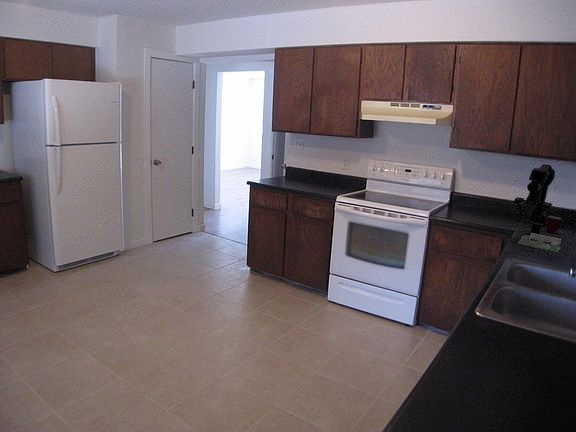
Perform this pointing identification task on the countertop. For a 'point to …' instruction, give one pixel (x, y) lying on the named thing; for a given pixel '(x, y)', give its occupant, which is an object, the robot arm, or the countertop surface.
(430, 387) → the countertop surface
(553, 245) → the stand
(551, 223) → the mug
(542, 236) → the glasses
